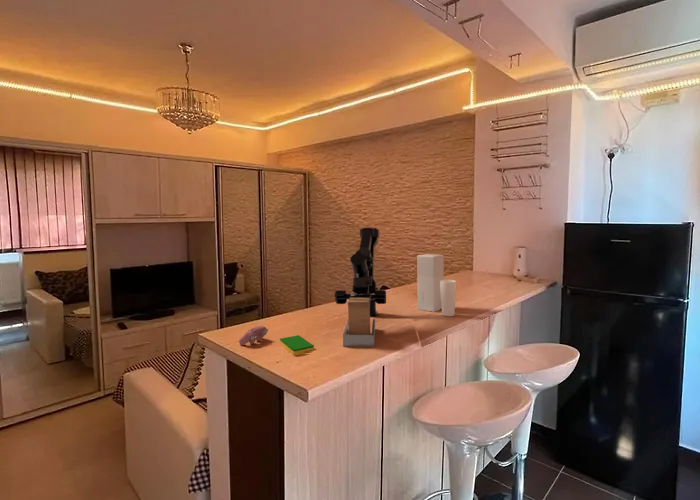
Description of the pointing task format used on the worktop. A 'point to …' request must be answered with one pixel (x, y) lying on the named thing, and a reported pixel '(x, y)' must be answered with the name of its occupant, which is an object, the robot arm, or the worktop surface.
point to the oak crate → (359, 315)
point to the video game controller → (254, 335)
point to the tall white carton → (429, 281)
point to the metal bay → (358, 338)
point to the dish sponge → (296, 345)
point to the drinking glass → (448, 297)
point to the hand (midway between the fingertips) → (360, 316)
